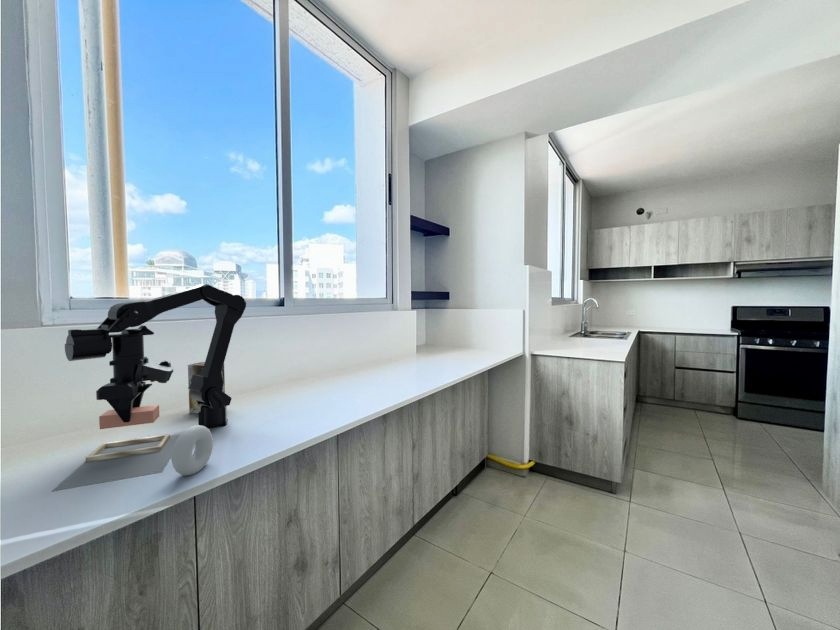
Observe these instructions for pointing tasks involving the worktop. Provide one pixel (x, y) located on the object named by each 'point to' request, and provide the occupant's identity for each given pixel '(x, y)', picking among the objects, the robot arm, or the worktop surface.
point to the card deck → (137, 417)
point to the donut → (184, 447)
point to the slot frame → (95, 456)
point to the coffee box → (192, 370)
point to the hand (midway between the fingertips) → (131, 418)
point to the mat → (121, 465)
